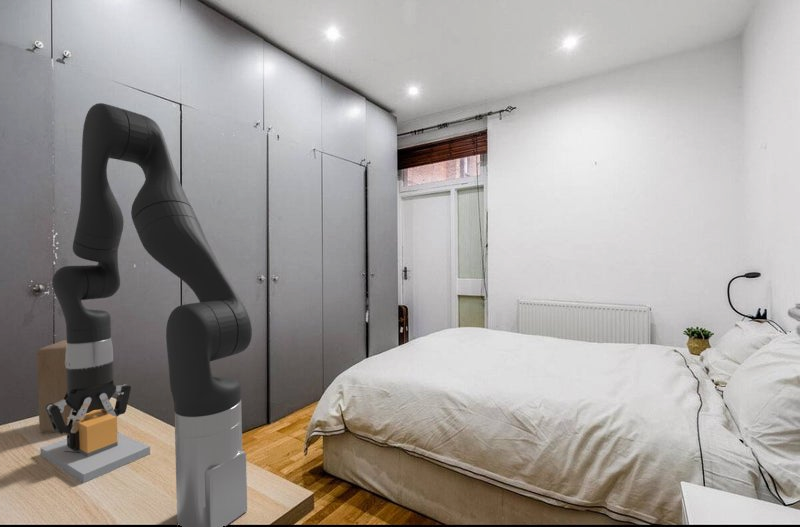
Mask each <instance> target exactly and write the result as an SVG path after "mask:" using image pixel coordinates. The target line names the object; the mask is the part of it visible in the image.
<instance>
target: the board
mask: <svg viewBox="0 0 800 527" xmlns="http://www.w3.org/2000/svg"><path fill="white" fill-rule="evenodd" d="M117 444H118V446H115V447H113V448H110V449H108V450H105V451H103V452H100V453H98V454H95V455H93V456H90V457H86V456H85V455H83V454H81V453H79V452H77V451H74V450H72V449H70V448H68V446H67V438H64V439H61V440H58V441H56V442H53V443H50V444H47V445H44V446H41V447H40V449H39V451H40V456H42V457H43V458H45V459H46V460H47V461H50V462H51V463H53V464H54V465H56V466H58V468H60V469H61V470H63V471H65V472H66V473H68V474H70V475H71V476H73V477H74V478H76V479H77V480H79V481H80V482H81V483H84V484H85V483H87V482H89V481H92V480H94V479H96V478H98V477H100V476H103V475H105V474H107V473H109V472H112V471H114V470H116V469H119V468H121V467H123V466H126V465H129V464H130V463H133V462H135V461H137V460H139V459H141V458H144V457H146V456H149V455H150V454H151V446H150V445H148V444H145V443H143V442H141V441H139V440H136V439H134V438H132V437H130V436H128V435H126V434H123V433H121V432H118V431H117Z"/></svg>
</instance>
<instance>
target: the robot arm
mask: <svg viewBox="0 0 800 527" xmlns="http://www.w3.org/2000/svg"><path fill="white" fill-rule="evenodd" d="M81 140H82V142H81V143H82V144H81V164H80V165H81V166H80V169H81V170H80V204H79V212H78V218H77V222H76V223H77V224H76V228H75V233H74V237H73V238H74V239H73V243H72V252H73V254H74V255H75V256H76V257H78V258H80V259H82V260H87V261H90V262H96V263H97V264H95V265H89V264H88V265H66V266H62V267H60V268H58V269H57V270H56V271H55V273H54V275H53V276H52V280H51V281H52V284H51V285H52V288H53V292H54V294H55V297H56V299H57V300H58V303H59V305H60V308H61V311H62V314H63V318H64V320H65V332H66V340H67V347H66V354H65V365H66V389H67V392H66V395H65V397H64V399H63V400H61V401H59V402H57V403H54V404H52V403H50V404H48V405H46V411H47V413H48V416H49V419H50V421H51V424H52V426H53V429H54V431H56V432H55V433H57V434H60V435H63V434H66V439H67V446H68V448H70V449H72V450H74V451H77V450H79V449H80V441H79V432H78V429H79V423H81V421H83V419H84V417H85V414H86V413H89V412H91V411H93V410H99V409H100V410H101V411H102V412H106V414H111V415H113V416H116V417H117V418H118V417H119V416H120V415H124V414H125V413H126V411H127V408H128V403H129V400H130V394H131V389H132V386H130V385H129V384H126V383H122V384H120V385H116V384H115V383H114V379H115V376H114V375H115V374H114V349H113V348H114V347H113V340H112V325H111V324H112V322H111V319H112V318H111V314H110V312H108V311H106V310H101V309H87V308H86V307H85V306H84V304H83V302H82V301H85V300H95V299H107V298H110V297H112V296H114V295H115V294H116V293H117V292H118V290H119V289H120V287H121V277H120V276H121V275H120V269H119V257H118V256H119V254H118V252H119V246H120V243H121V239H122V235H123V232H124V231H123V230H124V222H125V220H124V216H123V212H122V209H121V206H120V205H119V202H118V201H117V199H116V197H115V195H114V192H113V191H112V188H111V185H110V183H109V180H108V172H107V171H108V170H107V169H108V161H109V160H110V159H112V160H113V159H114V160H118V161H123V162H129V163H132V164H136V165H138V167H140V169H141V170H142V172H143V175H144V178H145V180H144V183H143V185H142V186H141V187H140V190H139V191H138V193H137V195H136V196H135V197H134V200H133V202H132V205H131V212H130V214H131V220H132V222H133V226H134V228H135V230H136V233H137V235H138V237H139V240H140V243H141V245H142V246H143V248H144V250H145V251H146V252H147V253H148V254H149V255H150V256H151V257H152V258H153V259H154V260H155V261H156V262H157V263H159V264H160V265H161V266H162V267H163V268H165V269H167V270H168V271H169V272H171V273H172V274H173V275H175V276H176V277H177V278H179V279H180V280H181V281H183V283H184V284H185V285H187V286H188V287H189V288H190V289H191V290H192V292H193V293H194V294H195V296H196V298H197V300H198V301H199V302H193V303H192V302H191V303H185V304H181V305H178V306H176V307H175V308H174V309H172V310H171V312H170V315H169V316H168V319H167V322H166V329H165V330H166V331H165V333H166V335H165V339H166V351H167V352H166V353H167V362H168V372H169V374H168V375H169V385H170V392H171V396H172V399H173V405H174V406H173V410H174V444H175V445H174V446H175V448H174V450H175V488H176V489H175V490H176V493H175V494H176V516H177V517H176V519H177V520H176V522H178V524H179V525H180V526H182V527H223V526H225V527H226V526H228V525H229V524H231V523H233V521H235V520H236V519H237V518H239V517H240V516H242V515H244V513H246V512H247V511H248V486H247V485H248V483H247V482H248V480H247V479H248V478H247V475H248V474H247V473H248V472H247V452H246V451H245V450H243V431H242V430H243V428H242V426H243V425H242V424H243V422H242V420H243V419H242V416H243V415H242V388H241V383H240V382H239V381H238V380H236V379H235V378H231V377H226V376H225V377H224V376H213V374H212V368H211V362H213V361H217V360H221V359H223V358H224V359H225V358H227V357H231V356H234V355H237V354H240V353H242V352H244V351H245V350H247V349H248V348H249V346H250V343H251V341H252V338H253V333H252V332H253V328H252V323H251V318H250V317H249V313H248V311H247V309H246V307H245V306H244V302H242V300H241V298H240V296H239V295H238V293H237V291H236V290H235V288H234V287H233V285H232V283H231V282H230V280H229V278H228V277H227V276H226V274H225V272H224V271H223V269H222V267H221V266H220V263H219V262H218V260H217V258H216V256H215V254H214V252H213V250H212V248H211V246H210V245H209V242H208V240H207V238H206V236H205V234H204V231H203V228H202V226H201V224H200V222H199V220H198V216H197V215H196V213H195V210H194V208H193V207H192V205H191V203H190V201H189V199H188V197H187V195H186V193H185V190H184V189H183V186H182V184H181V181H180V179H179V177H178V175H177V172H176V169H175V167H174V164H173V161H172V157H171V154H170V151H169V148H168V145H167V142H166V138H165V136H164V134H163V131H162V129H161V128H160V126H159V124H157V122H156V121H155V120H154V119H152V118H150V117H149V116H146V115H143V114H141V113H137V112H134V111H130V110H127V109H124V108H120V107H118V106H114V105H111V104H107V103H103V102H102V103H101V102H99V103H95V104H92V106H91V107H90V108H89V109H88V110H87V113H86V116H85V119H84V124H83V129H82V139H81ZM114 394H116V395H117V396H116V400H115V405H114V407H113V405H112V403H111V401H110V400H111V398H112V397H113V396H114ZM65 405H68V406H69V407H71V408H72V410H71V412H70V415H69V421H68V423H67V425H65V423H64V420H63V417H62V415H61V413H62V412H63V411H64V406H65ZM178 524H177V525H178Z"/></svg>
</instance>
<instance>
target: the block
mask: <svg viewBox="0 0 800 527" xmlns="http://www.w3.org/2000/svg"><path fill="white" fill-rule="evenodd" d="M66 347H67V339H63V340H61V341H57V342H55V343H52V344H48V345H46V346H44V347H40V348H39V349H38V350H37V352H36V360H37V361H36V362H37V364H36V366H37V388H38V390H37V391H38V392H37V393H38V399H37V400H38V420H39V421H38V423H39V424H38V425H39V426H38V427H39V429H38V430H39V432H40V434H48V433H49V434H51V433H57V432H56V431H54V429H53V426H52V424H51V421H50V419H49V416H48V413H47V411H46V405H48V404H50V403H52V404H54V403H57V402H59V401H61V400H63V399H64V397H65V395H66V392H67V389H66V365H65V354H66ZM71 410H72V408H71V407H69V406H68V405H65V406H64V411H63V412H62V413H61V415H62V417H63V420H64V423H65V425H67V417H69V415H70V412H71ZM99 410H100V409H99ZM50 432H51V433H50Z"/></svg>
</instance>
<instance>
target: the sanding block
mask: <svg viewBox="0 0 800 527" xmlns="http://www.w3.org/2000/svg"><path fill="white" fill-rule="evenodd" d="M117 420H118V416H117V417H116V416H113V415H111V414H106V412H102V411H101V410H93V411H91V412H89V413H86V414H85V417H84V419H83V421H81V423H79V429H78V432H79V441H80V449H79V450H77V452H79V453H81V454H83V455H85V456H86V457H90V456H93V455H95V454H98V453H100V452H103V451H105V450H108V449H110V448H113V447H115V446H118V444H117V432H118V421H117ZM68 421H69V417H67V423H68Z"/></svg>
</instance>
